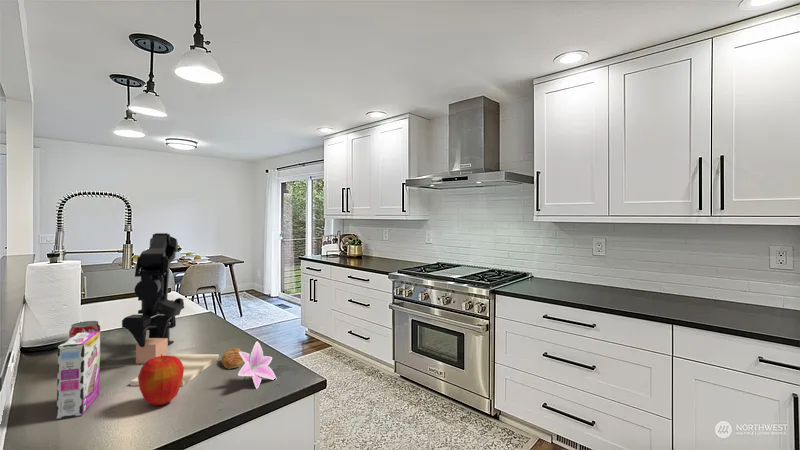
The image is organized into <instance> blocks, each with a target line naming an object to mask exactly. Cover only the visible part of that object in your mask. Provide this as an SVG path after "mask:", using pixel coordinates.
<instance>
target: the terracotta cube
mask: <svg viewBox="0 0 800 450" xmlns="http://www.w3.org/2000/svg"><path fill="white" fill-rule="evenodd" d="M168 350H169V345H168V338H149V337H148V338H146V341H145V346H144V347H140V346H139V344H138V343H136V344H135V364H142V365H144V364H145V363H146V362H147V361H148V360H150V359H152V358H155V357H159V356H161V354H162V356H169V355H168V352H169V351H168Z"/></svg>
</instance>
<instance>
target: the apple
mask: <svg viewBox="0 0 800 450" xmlns="http://www.w3.org/2000/svg"><path fill="white" fill-rule="evenodd" d="M183 373H184V367H183V364H182V362H181V361H180V359H178V358H176V357H175V356H173V355H168V356H162V354H161V356H159V357H155V358H152V359H150V360H148V361H147V362H146V363H145V364H142V367H141V369H140V371H139V373H138V376H137V377H138V381H139V386H138V387H139V391H140V393H141V395H142V397H143V399H144V401H145V402H146V403H148V404H151V405H153V406H164V405H167V404H168V403H170V402H171V401H172V400H174V399H175V398H176V397H177V395H178V393H179V392H180V391H179V390H180V388H181V386H180V385H181V383H182V379H183Z"/></svg>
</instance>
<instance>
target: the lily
mask: <svg viewBox="0 0 800 450" xmlns="http://www.w3.org/2000/svg"><path fill="white" fill-rule="evenodd" d="M241 351H242V350H241ZM241 351H239V354H240V355H241V357H242V359H243V360H244V363H243V366H242V367H241V368H240V369H239V371H238V373H237V375H238V377H244V378H243V380H244V379H245V380H246V378H247V377H252V380H253V384H254V387H255V389H258V388H259V387H260V384H261V382H262V379H263V378H264V379H269V380H272V381H275V380H274V379H275V378H276V379H277V377H276V375H275V372H274V371H273V369H272V368H271V367H270V366H269V365H270V364H271V363H272V360H273V357H272V356H268V355H264V351H263V348H262V346H261V343H259V341H255V344H254V345H253V347H252V350H251V352H250V353H249V352H245V351H243V352H241Z"/></svg>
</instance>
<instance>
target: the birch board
mask: <svg viewBox="0 0 800 450" xmlns="http://www.w3.org/2000/svg"><path fill="white" fill-rule="evenodd" d="M172 356H175V357H176V358H178V359H180V361H181V362H182V364H183V367H184V373H183V379H182V383H181V385H180V387H184V386H185V385H187V384H188V383H189V382H190V381H192V380H193V379H194V378H196V377H197V376H198V375H199V374H201V373H202V372H203V371H204V370H206V369H207V368H208V367H210V366H211V365H212V364H214V363H215V362H216V361H217V360H218V358H219V359H220V354H213V353H212V354H209V353H206V354H204V353H202V354H201V353H199V354H198V353H175V354H173V355H172ZM129 382H130V383H129V385H130V387H131V386H133V387H134V386H135V387H139V381H138V376H136V377H135V378H134V379H132V380H130V381H129Z"/></svg>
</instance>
